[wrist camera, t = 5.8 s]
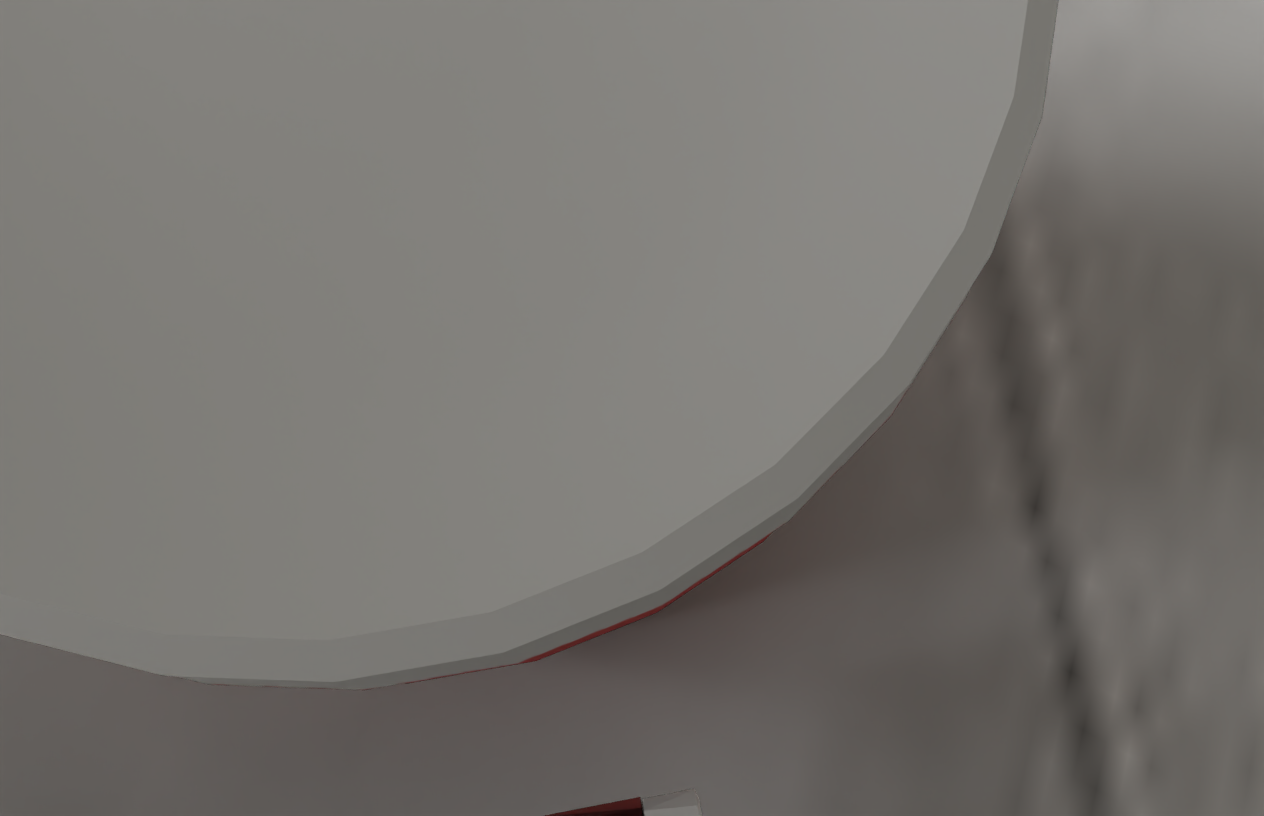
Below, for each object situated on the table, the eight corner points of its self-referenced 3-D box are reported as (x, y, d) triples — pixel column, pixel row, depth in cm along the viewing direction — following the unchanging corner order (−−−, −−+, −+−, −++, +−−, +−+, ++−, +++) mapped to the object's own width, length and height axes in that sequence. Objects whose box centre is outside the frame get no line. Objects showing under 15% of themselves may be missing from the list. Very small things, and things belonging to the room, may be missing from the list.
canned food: (599, 31, 17) (563, -953, 7) (882, 468, 16) (1422, 145, 5) (155, 274, 16) (-728, -391, 6) (417, 754, 15) (-82, 1069, 4)
